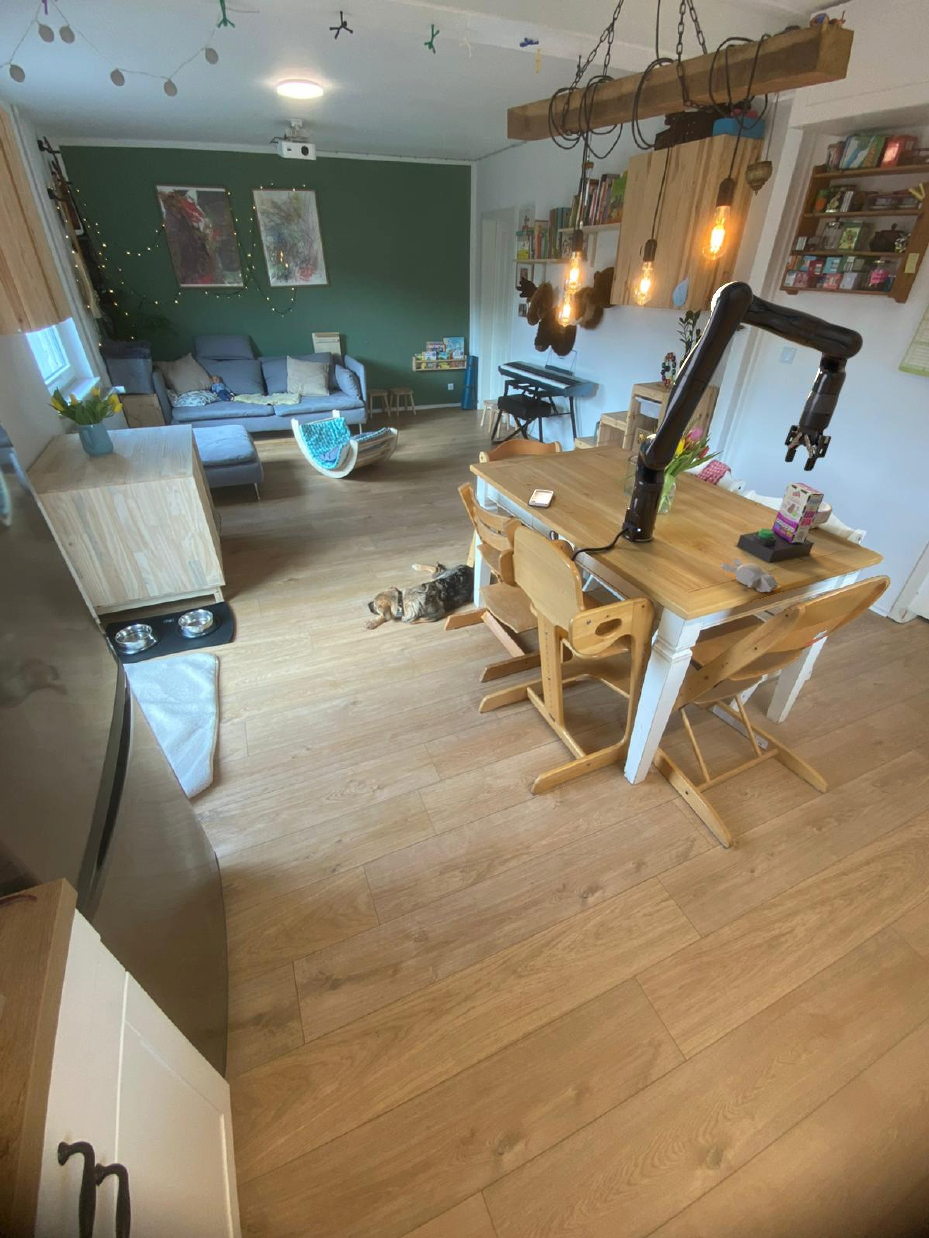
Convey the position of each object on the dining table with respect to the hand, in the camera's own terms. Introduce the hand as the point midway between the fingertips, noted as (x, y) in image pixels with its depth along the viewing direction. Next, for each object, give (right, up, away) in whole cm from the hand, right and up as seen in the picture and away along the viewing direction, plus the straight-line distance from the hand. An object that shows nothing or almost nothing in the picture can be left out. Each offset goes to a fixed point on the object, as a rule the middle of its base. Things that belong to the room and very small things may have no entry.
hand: (797, 466), depth 159 cm
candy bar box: (+6, -19, +15) cm, 25 cm away
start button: (-4, -20, +11) cm, 23 cm away
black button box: (+2, -23, +16) cm, 28 cm away
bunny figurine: (-17, -35, -3) cm, 39 cm away
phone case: (-70, +1, +50) cm, 86 cm away
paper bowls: (+24, -11, +36) cm, 44 cm away
